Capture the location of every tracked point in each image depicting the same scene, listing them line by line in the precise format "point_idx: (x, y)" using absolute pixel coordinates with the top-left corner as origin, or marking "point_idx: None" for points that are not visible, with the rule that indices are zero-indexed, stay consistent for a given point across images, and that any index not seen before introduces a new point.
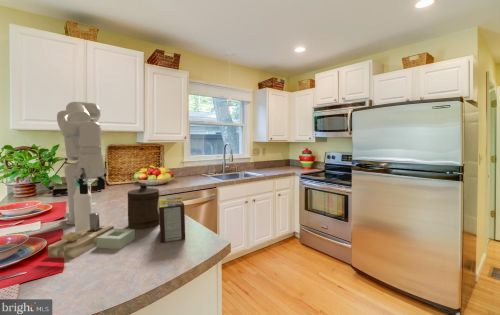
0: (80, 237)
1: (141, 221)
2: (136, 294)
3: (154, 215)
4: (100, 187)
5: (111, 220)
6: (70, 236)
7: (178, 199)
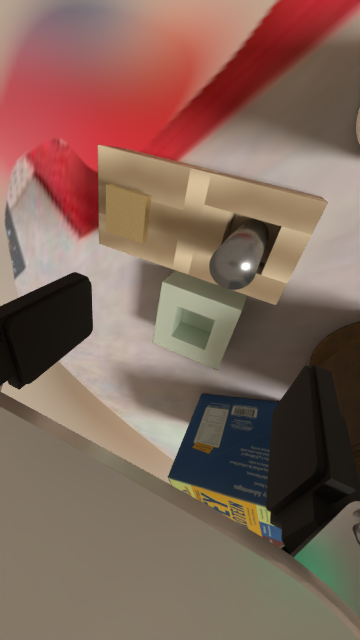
0: (168, 225)
1: None
2: None
3: None
4: (286, 405)
5: None
6: (109, 222)
7: None
